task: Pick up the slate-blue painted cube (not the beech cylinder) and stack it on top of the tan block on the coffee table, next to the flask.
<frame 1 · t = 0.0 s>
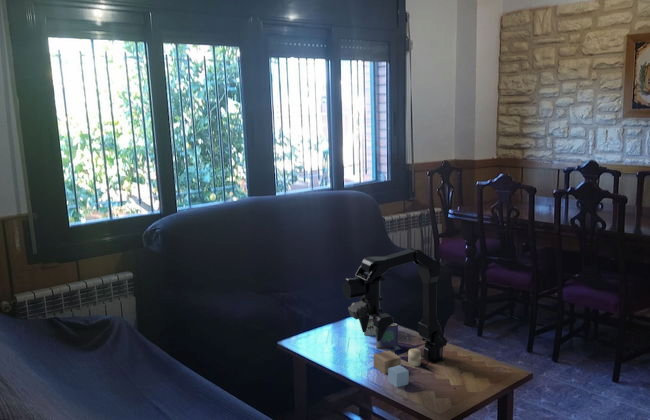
hand: (371, 336, 192), 15 cm above the table, fingers open, 9 cm apart
tan block: (387, 368, 200), on the table
coffee box: (371, 331, 235), on the table
beech cylinder: (414, 363, 204), on the table
flask: (386, 346, 219), on the table
blue cube: (398, 383, 189), on the table
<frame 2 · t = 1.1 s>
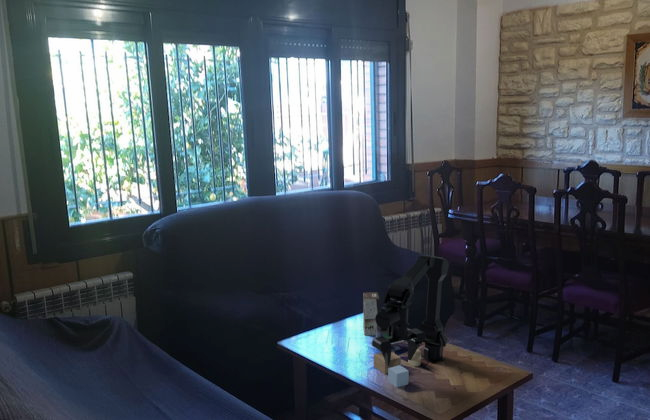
hand: (398, 362, 188), 7 cm above the table, fingers open, 9 cm apart
nothing on the table moved.
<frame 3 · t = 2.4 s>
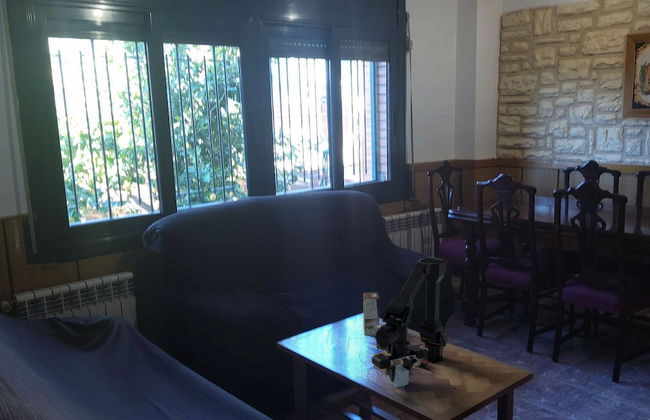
hand: (398, 379, 189), 1 cm above the table, fingers closed on blue cube, 5 cm apart
blue cube: (398, 382, 189), on the table, touching gripper
everything else where it was.
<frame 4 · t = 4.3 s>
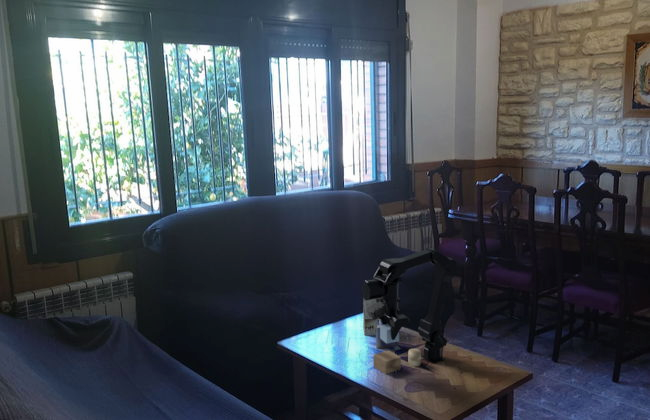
hand: (389, 336, 196), 13 cm above the table, fingers closed on blue cube, 5 cm apart
blue cube: (389, 339, 196), point 12 cm above the table, touching gripper
everything else where it was.
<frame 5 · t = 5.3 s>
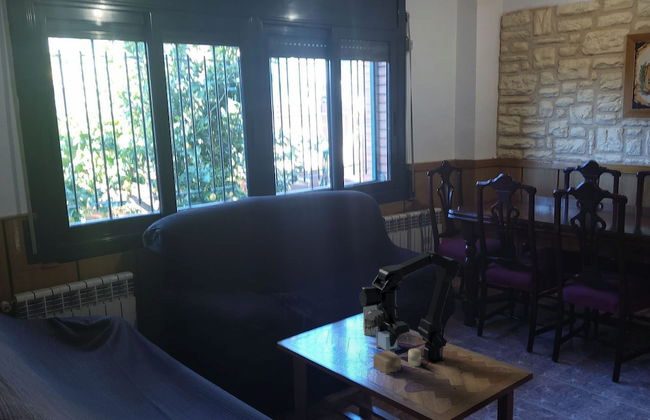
hand: (387, 343, 199), 9 cm above the table, fingers closed on blue cube, 5 cm apart
blue cube: (387, 346, 199), point 8 cm above the table, touching gripper
everything else where it was.
when the fingers open (7 cm above the table, at t = 6.2 s): blue cube drops 1 cm, point 5 cm above the table.
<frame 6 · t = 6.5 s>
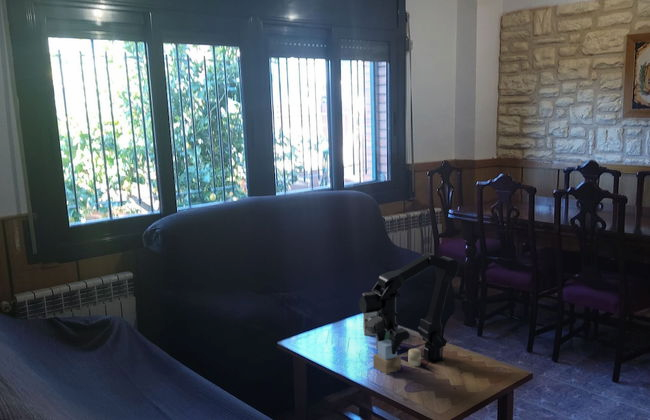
hand: (387, 350, 199), 7 cm above the table, fingers open, 8 cm apart
blue cube: (387, 355, 199), point 5 cm above the table
everything else where it was.
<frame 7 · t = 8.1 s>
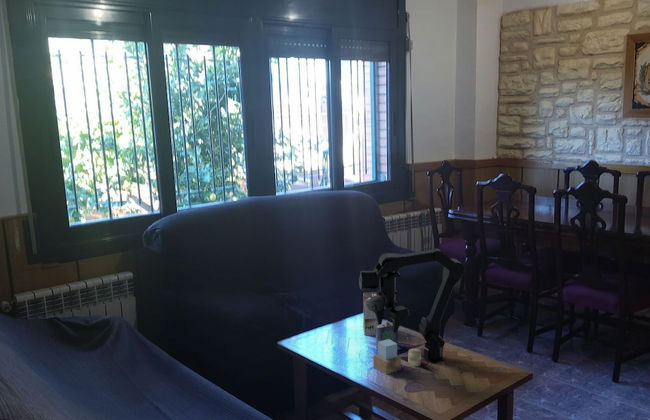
hand: (387, 328, 204), 13 cm above the table, fingers open, 9 cm apart
tan block: (387, 368, 200), on the table, touching blue cube
blue cube: (387, 355, 199), point 5 cm above the table, touching tan block
everything else where it was.
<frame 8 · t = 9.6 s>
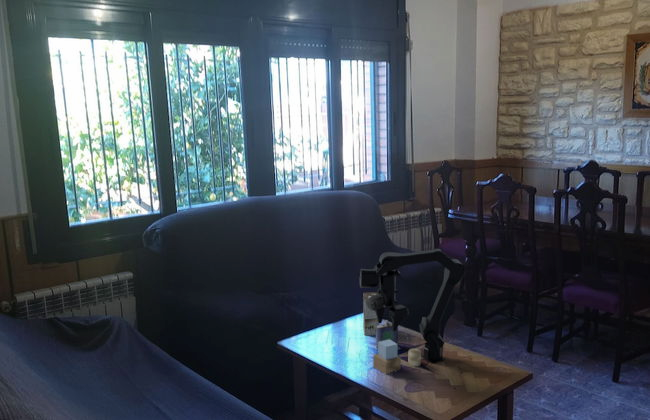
hand: (387, 326, 205), 13 cm above the table, fingers open, 9 cm apart
nothing on the table moved.
at the end: blue cube 0.3 cm off-centre on the tan block, point 5.0 cm above the tan block's base; blue cube tilted 0°; the gripper is holding nothing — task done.
